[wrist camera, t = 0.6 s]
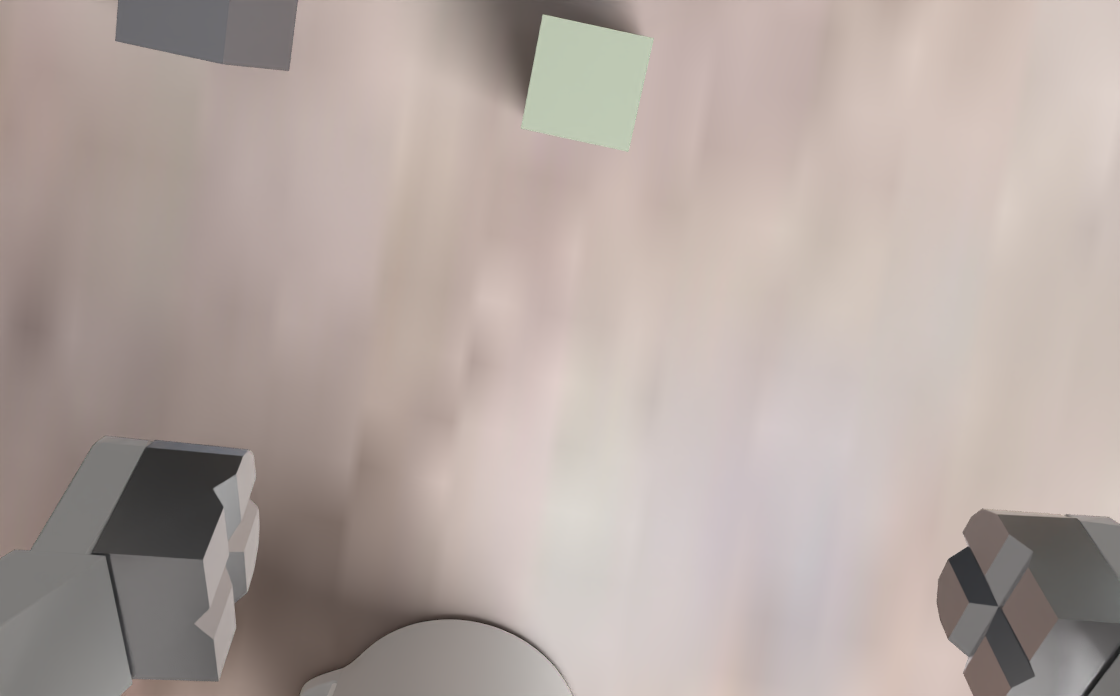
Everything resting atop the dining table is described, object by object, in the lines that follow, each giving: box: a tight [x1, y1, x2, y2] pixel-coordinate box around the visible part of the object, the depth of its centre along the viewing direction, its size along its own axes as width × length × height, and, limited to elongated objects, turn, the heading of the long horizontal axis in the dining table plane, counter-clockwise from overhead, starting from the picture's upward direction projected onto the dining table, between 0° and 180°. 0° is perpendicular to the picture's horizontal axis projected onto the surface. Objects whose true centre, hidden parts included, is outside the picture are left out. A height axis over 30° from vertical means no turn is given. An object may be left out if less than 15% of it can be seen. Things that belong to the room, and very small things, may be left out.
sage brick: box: [521, 14, 654, 152], centre depth 41 cm, size 4×4×8 cm
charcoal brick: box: [115, 0, 298, 71], centre depth 41 cm, size 4×4×8 cm
